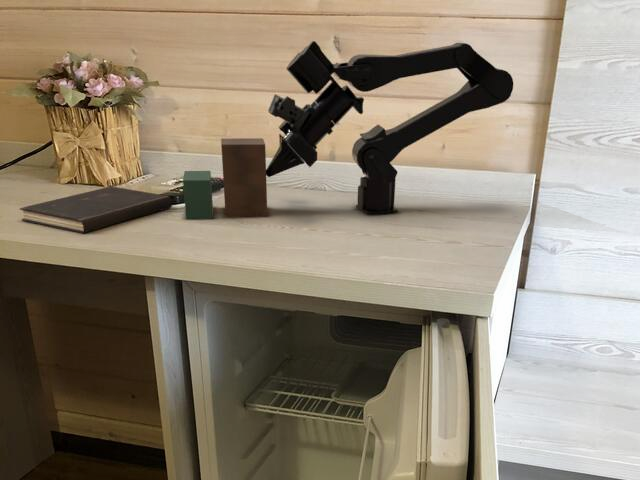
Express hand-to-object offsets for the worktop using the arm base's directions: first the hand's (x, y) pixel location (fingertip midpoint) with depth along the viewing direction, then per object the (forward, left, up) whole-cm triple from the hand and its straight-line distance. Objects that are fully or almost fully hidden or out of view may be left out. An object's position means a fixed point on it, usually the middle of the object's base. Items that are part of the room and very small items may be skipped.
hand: (266, 175), depth 141 cm
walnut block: (+4, -1, -7) cm, 8 cm away
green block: (+13, -3, -7) cm, 15 cm away
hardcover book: (+31, -8, -7) cm, 33 cm away
